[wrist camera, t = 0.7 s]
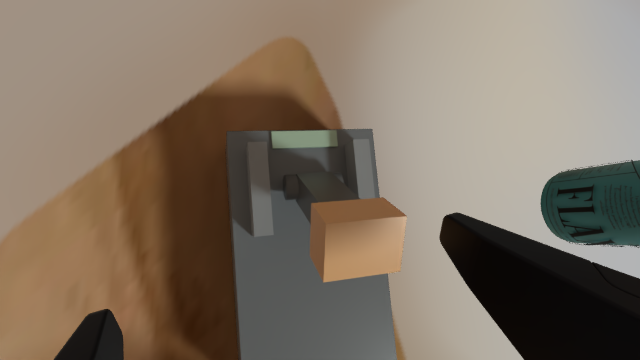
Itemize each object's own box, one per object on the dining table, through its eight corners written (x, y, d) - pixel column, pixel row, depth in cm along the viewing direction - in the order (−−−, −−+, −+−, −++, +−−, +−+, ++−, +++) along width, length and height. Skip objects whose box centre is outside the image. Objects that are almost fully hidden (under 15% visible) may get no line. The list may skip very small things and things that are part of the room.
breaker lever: (334, 199, 21) (400, 271, 14) (282, 203, 20) (323, 282, 13) (336, 160, 21) (406, 216, 13) (282, 163, 20) (326, 223, 12)
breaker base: (365, 354, 26) (412, 395, 19) (239, 380, 23) (247, 437, 17) (345, 145, 27) (382, 122, 21) (225, 149, 25) (227, 124, 19)
